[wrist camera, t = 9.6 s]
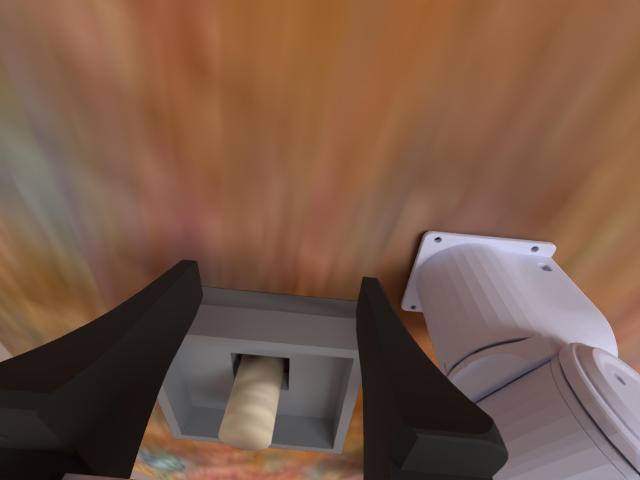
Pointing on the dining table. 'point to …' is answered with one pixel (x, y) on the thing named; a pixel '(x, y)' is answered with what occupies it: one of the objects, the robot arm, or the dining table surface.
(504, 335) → the robot arm
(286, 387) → the box
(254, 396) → the peg
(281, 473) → the dining table surface
